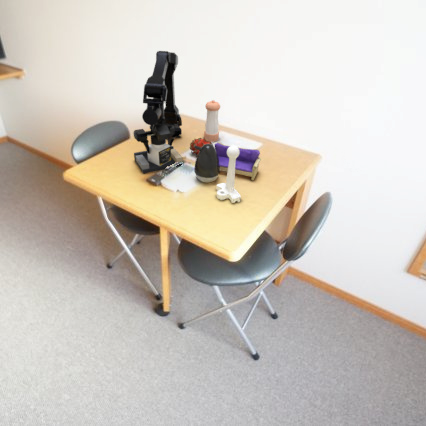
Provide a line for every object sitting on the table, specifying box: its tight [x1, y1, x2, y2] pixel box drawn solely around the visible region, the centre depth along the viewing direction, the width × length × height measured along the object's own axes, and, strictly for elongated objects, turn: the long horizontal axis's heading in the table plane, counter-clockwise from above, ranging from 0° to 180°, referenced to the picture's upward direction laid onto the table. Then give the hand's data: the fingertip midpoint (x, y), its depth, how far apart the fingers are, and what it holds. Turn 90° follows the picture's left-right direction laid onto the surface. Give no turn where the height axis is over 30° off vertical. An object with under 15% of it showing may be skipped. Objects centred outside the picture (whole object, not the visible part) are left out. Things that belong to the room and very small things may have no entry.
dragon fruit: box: [189, 137, 214, 156], centre depth 145 cm, size 8×8×12 cm
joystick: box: [216, 145, 242, 204], centre depth 114 cm, size 11×8×20 cm
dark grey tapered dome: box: [193, 144, 221, 183], centre depth 125 cm, size 10×10×15 cm
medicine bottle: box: [147, 135, 171, 166], centre depth 133 cm, size 7×7×12 cm
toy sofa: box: [213, 141, 262, 181], centre depth 132 cm, size 21×9×10 cm, turn 70°
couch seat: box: [133, 145, 184, 175], centre depth 137 cm, size 18×12×4 cm, turn 117°
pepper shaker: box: [203, 99, 221, 143], centre depth 155 cm, size 7×7×19 cm
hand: (159, 151), depth 134 cm, fingers closed on medicine bottle, 9 cm apart
